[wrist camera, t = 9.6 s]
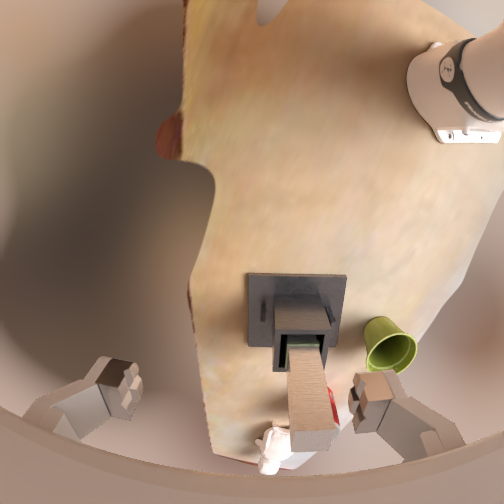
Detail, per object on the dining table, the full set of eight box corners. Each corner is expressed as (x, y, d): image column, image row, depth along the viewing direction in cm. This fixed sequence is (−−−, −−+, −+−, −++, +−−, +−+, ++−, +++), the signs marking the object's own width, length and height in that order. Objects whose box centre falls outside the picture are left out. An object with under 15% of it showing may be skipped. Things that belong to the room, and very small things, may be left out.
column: (314, 323, 43) (337, 428, 24) (310, 348, 45) (328, 453, 26) (285, 323, 43) (293, 430, 24) (283, 348, 45) (288, 455, 26)
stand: (345, 274, 48) (367, 313, 36) (334, 343, 53) (348, 391, 40) (248, 272, 49) (242, 312, 37) (248, 343, 53) (243, 392, 41)
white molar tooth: (265, 413, 64) (247, 458, 63) (269, 431, 55) (249, 478, 54) (298, 419, 64) (279, 463, 63) (306, 437, 56) (283, 482, 55)
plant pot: (344, 331, 52) (355, 360, 43) (384, 298, 49) (401, 323, 41) (371, 357, 53) (383, 385, 45) (408, 326, 51) (425, 352, 43)
